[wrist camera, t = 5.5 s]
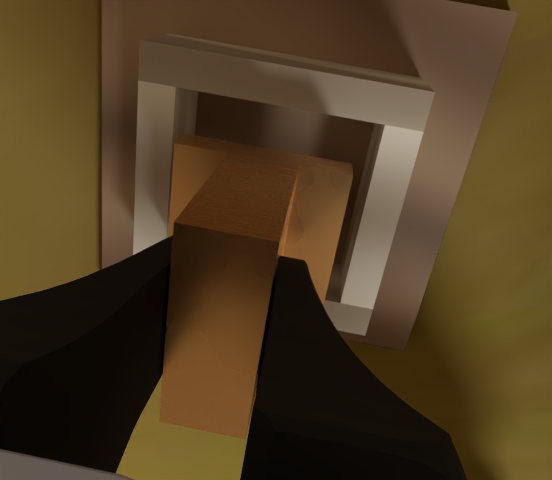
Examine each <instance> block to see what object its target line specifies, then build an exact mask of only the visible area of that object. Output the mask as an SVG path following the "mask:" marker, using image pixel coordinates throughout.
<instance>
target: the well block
mask: <svg viewBox="0 0 552 480" xmlns="http://www.w3.org/2000/svg"><path fill="white" fill-rule="evenodd" d="M518 13H519V12H513V11H507V10H501V9H496V8H490V7H484V6H478V5H472V4H466V3H460V2H454V1H448V0H102V269H104V268H106V267H109V266H111V265H113V264H115V263H118V262H120V261H122V260H124V259H126V258H128V257H130V256H132V255H134V254H136V253H138V252H140V251H142V250H144V249H146V248H148V247H150V246H152V245H154V244H156V243H158V242H160V241H162V240H164V239H166V238H168V231H169V216H170V201H171V187H172V172H173V157H174V143H175V142H177V141H178V140H179V139H180V138H182V137H183V136H184V135H185V134H191V135H196V136H202V137H207V138H213V139H218V140H224V141H229V142H235V143H240V144H246V145H251V146H257V147H262V148H268V149H273V150H279V151H284V152H290V153H295V154H301V155H306V156H312V157H317V158H323V159H328V160H334V161H339V162H345V163H350V164H352V167H353V179H352V184H351V188H350V192H349V197H348V201H347V205H346V210H345V214H344V218H343V223H342V227H341V232H340V236H339V240H338V245H337V249H336V253H335V258H334V262H333V266H332V271H331V275H330V280H329V284H328V288H327V293H326V297H325V301H324V308H325V310H326V312H327V314H328V316H329V318H330V319H331V321H332V323H333V324H334V326H335V328H336V329H337V331H338V332H339V334H340V335H341V337H342V338H343V339H346V340H351V341H356V342H361V343H366V344H371V345H376V346H381V347H386V348H391V349H396V350H401V351H405V349H406V346H407V343H408V340H409V337H410V334H411V331H412V328H413V325H414V322H415V319H416V316H417V313H418V311H419V308H420V305H421V302H422V299H423V296H424V293H425V290H426V287H427V284H428V281H429V278H430V275H431V272H432V269H433V266H434V263H435V260H436V257H437V254H438V251H439V248H440V245H441V242H442V239H443V236H444V233H445V230H446V227H447V224H448V221H449V218H450V215H451V212H452V209H453V206H454V203H455V200H456V197H457V194H458V191H459V188H460V185H461V182H462V179H463V176H464V173H465V170H466V168H467V165H468V162H469V159H470V156H471V153H472V150H473V147H474V144H475V141H476V138H477V135H478V132H479V129H480V126H481V123H482V120H483V117H484V114H485V111H486V108H487V105H488V102H489V99H490V96H491V93H492V90H493V87H494V84H495V81H496V78H497V75H498V72H499V69H500V66H501V63H502V60H503V57H504V54H505V51H506V48H507V45H508V42H509V39H510V36H511V33H512V30H513V27H514V25H515V22H516V19H517V16H518Z"/></svg>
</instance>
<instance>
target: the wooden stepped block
mask: <svg viewBox="0 0 552 480" xmlns="http://www.w3.org/2000/svg"><path fill="white" fill-rule="evenodd" d="M352 179H353V167H352V164H350V163H345V162H339V161H334V160H328V159H323V158H317V157H312V156H306V155H301V154H295V153H290V152H284V151H279V150H273V149H268V148H262V147H257V146H251V145H246V144H240V143H235V142H229V141H224V140H218V139H213V138H207V137H202V136H196V135H191V134H185V135H184V136H183V137H182V138H180V139H179V140H178V141H177V142H175V143H174V157H173V172H172V187H171V201H170V216H169V231H168V237H170V236H173V239H172V253H171V267H170V280H169V294H168V308H167V322H166V336H165V350H164V364H163V377H162V391H161V405H160V419H159V421H160V422H165V423H170V424H175V425H180V426H185V427H189V428H194V429H199V430H204V431H209V432H214V433H219V434H224V435H229V436H233V437H238V438H243V439H245V438H246V434H247V429H248V425H249V420H250V415H251V411H252V406H253V402H254V397H255V393H256V388H257V381H258V371H259V365H260V359H261V353H262V348H263V342H264V336H265V331H266V325H267V319H268V314H269V308H270V302H271V296H272V291H273V285H274V279H275V274H276V269H277V265H278V261H279V258H280V256H285V257H290V258H296V259H301V260H305V262H306V263H307V265H308V269H309V273H310V276H311V279H312V281H313V284H314V287H315V289H316V291H317V294H318V296H319V298H320V300H321V302H322V304H323V306H324V301H325V297H326V293H327V288H328V284H329V280H330V275H331V271H332V266H333V262H334V258H335V253H336V249H337V245H338V240H339V236H340V232H341V227H342V223H343V218H344V214H345V210H346V205H347V201H348V197H349V192H350V188H351V184H352Z"/></svg>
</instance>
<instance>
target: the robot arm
mask: <svg viewBox="0 0 552 480" xmlns="http://www.w3.org/2000/svg"><path fill="white" fill-rule="evenodd" d="M172 239H173V236H170V237H168V238H166V239H164V240H162V241H160V242H158V243H156V244H154V245H152V246H150V247H148V248H146V249H144V250H142V251H140V252H138V253H136V254H134V255H132V256H130V257H128V258H126V259H124V260H122V261H120V262H118V263H115V264H113V265H111V266H109V267H106V268H104V269H102V270H99V271H97V272H95V273H92V274H90V275H88V276H85V277H82V278H80V279H77V280H74V281H71V282H69V283H66V284H62V285H59V286H56V287H53V288H50V289H46V290H43V291H39V292H35V293H31V294H27V295H23V296H18V297H14V298H10V299H6V300H2V301H0V480H133V479H131V478H128V477H126V476H123V475H121V474H116V471H117V468H118V466H119V463H120V461H121V458H122V456H123V453H124V451H125V449H126V446H127V444H128V441H129V439H130V436H131V434H132V432H133V429H134V427H135V425H136V423H137V421H138V419H139V417H140V415H141V413H142V411H143V409H144V407H145V406H146V404H147V402H148V400H149V398H150V396H151V394H152V393H153V391H154V389H155V387H156V385H157V383H158V382H159V380H160V378H161V376H162V374H163V364H164V350H165V336H166V322H167V308H168V294H169V280H170V267H171V253H172ZM240 480H467V479H466V476H465V473H464V470H463V467H462V465H461V462H460V459H459V457H458V454H457V452H456V450H455V447H454V445H453V442H452V440H451V437H450V435H449V433H447V432H446V431H444V430H443V429H441V428H440V427H439V426H437V425H436V424H434V423H433V422H431V421H430V420H429V419H427V418H426V417H424V416H423V415H421V414H420V413H418V412H417V411H416V410H414V409H413V408H411V407H410V406H409V405H408V404H406V403H405V402H404V401H403V400H402V399H400V398H399V397H398V396H397V395H396V394H394V393H393V392H392V391H391V390H390V389H388V388H387V387H386V386H385V385H384V384H383V383H382V382H381V381H380V380H379V379H378V378H377V377H375V375H374V374H373V373H372V372H371V371H370V370H369V369H368V368H367V367H366V366H365V365H364V364H363V363H362V362H361V361H360V360H359V359H358V357H357V356H356V355H355V354H354V353H353V352H352V350H351V349H350V348H349V346H348V345H347V344H346V343H345V341H344V340H343V338H342V337H341V335H340V334H339V332H338V331H337V329H336V328H335V326H334V324H333V323H332V321H331V319H330V318H329V316H328V314H327V312H326V310H325V308H324V306H323V304H322V302H321V300H320V298H319V296H318V294H317V291H316V289H315V287H314V284H313V281H312V279H311V276H310V273H309V269H308V265H307V263H306V262H305V260H301V259H296V258H290V257H285V256H280V258H279V261H278V265H277V269H276V274H275V279H274V285H273V291H272V296H271V302H270V308H269V314H268V319H267V325H266V331H265V336H264V342H263V348H262V353H261V359H260V365H259V371H258V381H257V391H256V398H255V402H254V406H253V411H252V417H251V422H250V428H249V434H248V439H247V445H246V450H245V456H244V462H243V467H242V473H241V479H240Z"/></svg>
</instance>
